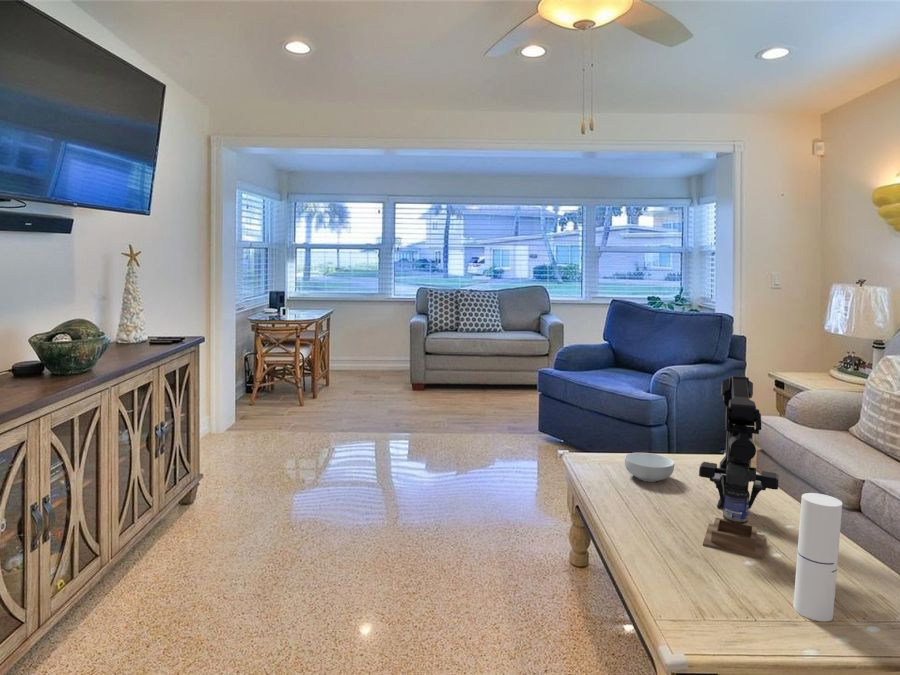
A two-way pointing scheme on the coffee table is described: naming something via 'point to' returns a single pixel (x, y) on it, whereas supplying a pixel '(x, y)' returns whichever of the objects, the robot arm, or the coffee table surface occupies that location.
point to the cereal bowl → (649, 466)
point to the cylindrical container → (817, 556)
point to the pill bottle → (736, 504)
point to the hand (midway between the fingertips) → (736, 505)
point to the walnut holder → (735, 538)
